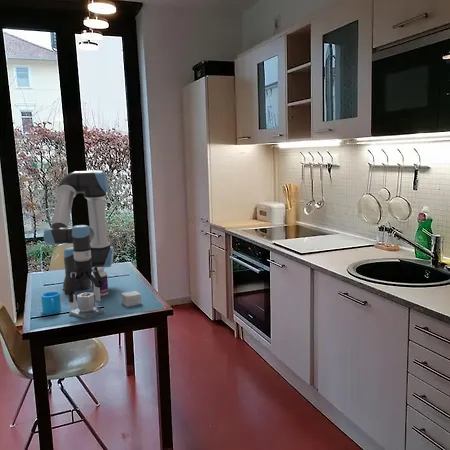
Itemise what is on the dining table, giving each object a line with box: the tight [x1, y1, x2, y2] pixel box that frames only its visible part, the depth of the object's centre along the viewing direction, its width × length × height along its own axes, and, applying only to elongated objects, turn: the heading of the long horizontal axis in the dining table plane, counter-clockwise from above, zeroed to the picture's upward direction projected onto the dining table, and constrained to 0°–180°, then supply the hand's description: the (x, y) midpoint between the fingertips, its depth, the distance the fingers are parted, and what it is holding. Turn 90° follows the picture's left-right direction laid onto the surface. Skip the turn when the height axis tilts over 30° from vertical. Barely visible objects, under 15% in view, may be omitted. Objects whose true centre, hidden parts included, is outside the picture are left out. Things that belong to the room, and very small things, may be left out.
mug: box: [40, 291, 62, 315], centre depth 212 cm, size 12×8×8 cm
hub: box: [76, 291, 96, 310], centre depth 208 cm, size 7×7×6 cm
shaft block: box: [68, 294, 105, 320], centre depth 208 cm, size 12×10×9 cm
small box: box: [120, 290, 143, 307], centre depth 222 cm, size 8×8×5 cm
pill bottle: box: [91, 267, 109, 297], centre depth 237 cm, size 8×8×14 cm
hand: (86, 304), depth 208 cm, fingers open, 13 cm apart
